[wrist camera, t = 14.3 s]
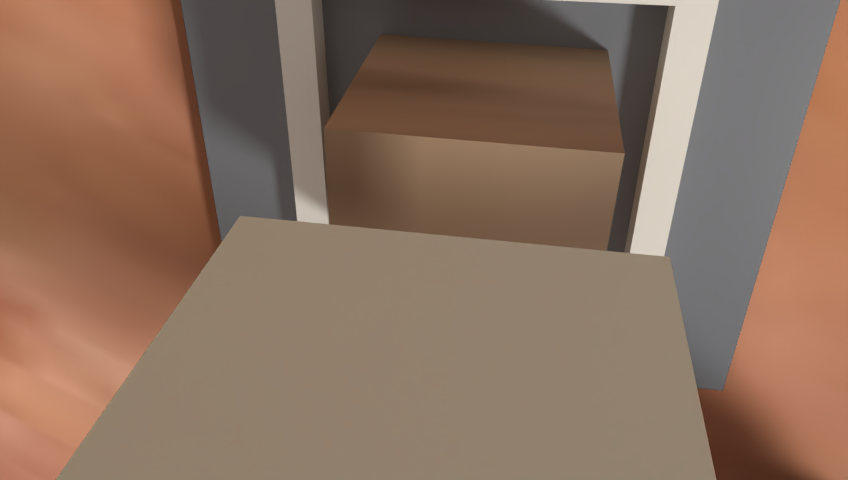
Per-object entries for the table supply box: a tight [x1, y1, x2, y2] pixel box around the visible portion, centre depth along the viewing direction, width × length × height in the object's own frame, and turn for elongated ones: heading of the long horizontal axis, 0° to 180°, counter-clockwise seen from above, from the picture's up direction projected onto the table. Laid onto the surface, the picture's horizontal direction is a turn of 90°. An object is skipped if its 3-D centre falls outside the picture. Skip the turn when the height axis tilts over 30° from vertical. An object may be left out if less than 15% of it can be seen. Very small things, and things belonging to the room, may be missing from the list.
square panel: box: [181, 0, 840, 390], centre depth 18 cm, size 14×14×1 cm
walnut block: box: [324, 34, 625, 251], centre depth 16 cm, size 5×5×5 cm
